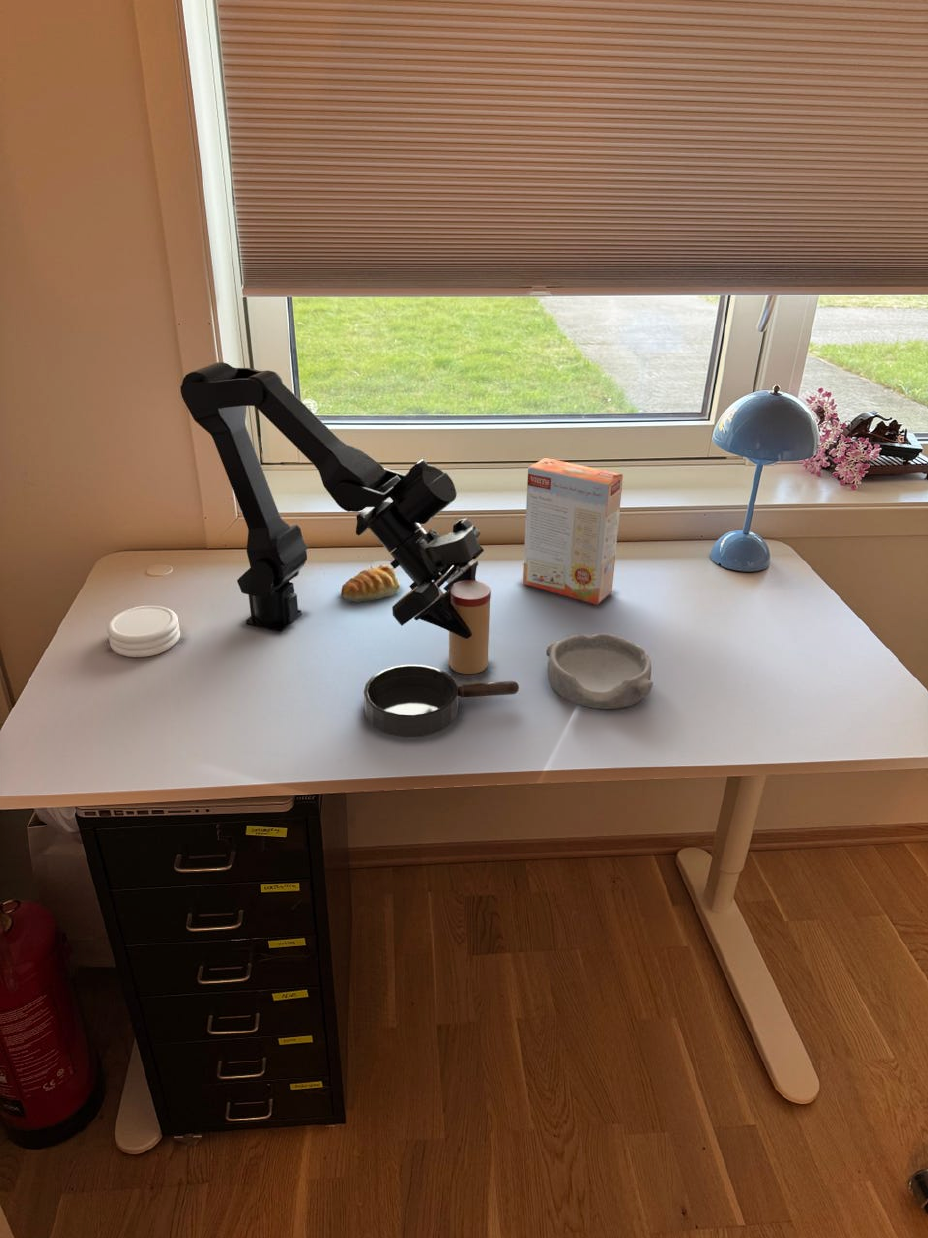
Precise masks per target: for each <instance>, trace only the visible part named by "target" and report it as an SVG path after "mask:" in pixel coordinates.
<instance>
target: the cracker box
mask: <svg viewBox="0 0 928 1238" xmlns="http://www.w3.org/2000/svg"><path fill="white" fill-rule="evenodd" d="M623 478H624V474H623V473H620V472H614V471H609V470H605V469H601V468H595V467H590V466H585V465H581V464H576V463H571V462H567V461H562V460H558V459H553V458H548V457H544V458H542V459H540V460H539V461H536V463H534V464H532V465H531V466H529V467H527V480H526V481H527V484H526V505H525V524H524V525H525V526H524V546H523V547H524V548H523V550H524V551H523V570H522V571H523V573H522V584H523V585H525V586H529V587H533V588H536V589H540V590H544V591H547V592H550V593H554V594H557V595H562V596H565V597H568V598H572V599H574V600H579V601H583V602H585V603H589V604H593V605H596V606H597V605H599V604H600V603H601V602H603V601H604V600H605V599H606V598H607V597H608V596H609V595H610V594H611V593H612V592H613V582H614V572H615V564H616V554H617V552H616V551H617V542H618V533H619V532H618V530H619V521H620V511H621V502H622V501H621V500H622V499H621V498H622V489H623Z"/></svg>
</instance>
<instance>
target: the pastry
mask: <svg viewBox="0 0 928 1238" xmlns="http://www.w3.org/2000/svg"><path fill="white" fill-rule="evenodd" d="M400 588H401V584H400V582H399V578H398V577H397V575H396V573H395V570H394V568H393V567H390V566H389V565H384V564H380V565H379V566H377V567H372V568H367V569H363V570H361V571H360V572H359V573H358V574H357V575H355V576H354V577H351V578H349V580H347V581H346V582H345V583H344V584H342V586H341V593H340V595H341V597H342V598H343V599H346V600H349V601H351V602H356V603H358V602H361V603H363V602H365V601H366V602H367V601H370V602H371V601H375V600H380V599H383V598H386V597H391V596H394V595H395V594H396V593H398V592H399V590H400Z"/></svg>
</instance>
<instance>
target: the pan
mask: <svg viewBox="0 0 928 1238" xmlns="http://www.w3.org/2000/svg"><path fill="white" fill-rule="evenodd" d="M363 704H364V706H363V707H364V713H365V717H366V720H367V721H368V722H369V723H370V725H371V726H372V727H374V729H376V730H378V731H380V732H381V733H385V734H386V735H387V734H388V735H391V736H395V737H402V738H419V737H425V736H430V735H433V734H436V733H438V732H441V731H442V730H444V729H446V728H447V727H449V726H450V725H451V724H452V723H453V722H454V720H455V719H456V717H457V715H458V711H459V696H458V684H457V682H456V680H455V679H454V678H453V677H452V676H451V675H450V674H449V673H448V672H446V671H444V670H442V669H440V668H437V667H434V666H429V665H425V664H401V665H395V666H391V667H388V668H385V669H382V670H380V671H379V672H377V673H375V674H374V675H372V676H371V677H370V679H368V681H367V682H366V683H365V686H364V689H363Z"/></svg>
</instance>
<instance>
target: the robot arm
mask: <svg viewBox="0 0 928 1238" xmlns="http://www.w3.org/2000/svg"><path fill="white" fill-rule="evenodd" d="M179 391H180V395H181V399H182V401H183V402H184V404H185V406H186V408H187V410H188V411H189V413H190V415H191V417H192V419H193V420H194V422H195V423H197V424H198V425H199V426H200V427H201V428H203V430H205V431H206V432H207V433H208V434H209V435H210V437H211V438H212V440H213V443H214V445H215V447H216V450H217V453H218V455H219V458H220V461H221V464H222V466H223V468H224V471H225V474H226V475H227V478H228V481H229V484H230V486H231V488H232V491H233V495H234V496H235V498H236V501H237V503H238V506H239V509H240V512H241V515H242V516H243V519H244V522H245V524H246V526H247V541H246V543H247V544H246V555H247V560H248V563H249V567H250V568H248V569H247V570H246V571H245V572H244V573H243V574H242V575H241V576H240V577H239V578H238V579H237V580H236V582H237V585H238V587H239V590H240V592H241V593H242V594H245V595H248V601H249V610H250V617H248V618H247V619H246V620H245V621H244V623H245V625H246V626H252V627H256V628H260V629H264V630H269V631H273V632H278V633H282V632H283V631H285V630H286V629H287V628H288V627H289V626H291V624H292V623H294V622H295V621H296V620H297V619H298V618H299V617H301V616H302V615H303V613H302V610H300V609H299V605H298V595H297V593H296V592H295V587H294V585H295V584H294V583H293V582H290V581H291V580H293V579H294V578H297V577H298V576H299V573H300V570H301V569H303V568H304V567H305V565H306V562H307V560H308V553H307V550H308V549H309V546H308V545H307V543H306V542H305V539H304V537H303V534H302V529H301V527H300V526H299V525H298V524H294V525H290V524H289V523H288V522H286V521H285V519H283V518H282V517H281V515H280V513H279V509H278V507H277V505H276V502H275V499H274V497H273V494H272V492H271V489H270V486H269V484H268V480H267V478H266V475H265V473H264V470H263V468H262V465H261V462H260V460H259V457H258V455H257V452H256V449H255V447H254V444H253V441H252V438H251V436H250V434H249V431H248V428H247V425H246V417H247V408H248V407H254V408H256V409H257V410H258V411H259V412H260V413H261V414H262V415H263V416H264V417H265V418H267V420H268V421H269V422H270V423H271V424H272V425H273V426H274V427H275V428H276V429H277V430H278V431H279V432H280V433H281V434H282V435H283V436H284V437H285V438H286V439H287V440H288V441H289V442H290V443H291V444H292V445H293V446H295V448H296V449H297V450H299V451H300V453H301V454H302V455H304V457H305V458H307V460H308V461H309V462H310V463H312V464H313V466H314V467H315V468H316V470H317V471H318V473H319V476H320V477H319V478H320V479H321V482H322V485H323V487H324V489H325V490H326V491H327V493H328V494H329V495H330V497H331V498H332V499H333V500H334V502H335V503H336V504H337V505H338V506H339V507H340V508H341V509H342V510H344V511H345V512H347V513H348V512H353V513H357V512H359V513H358V514H357V515H356V526H355V534H356V535H357V536H360V535H362V534H363V533H365V532H366V531H367V530H370V532H371V533H372V534H373V535H374V536H375V537H376V538H377V540H378V541H379V542H380V543H381V545H382V546H383V547H384V549H386V551H387V553H389V554H390V555H391V557H392V558H393V560H392V561H390V563H389V564H390V565H391V568H392V569H393V570H395V569H397V568H398V567H400V568H401V569H402V570H403V571H404V573H405V574H406V575H407V576H408V577H409V578H410V580H411V581H412V583H411V584H410V585H409V586H408V587H409V588H410V591H408V592H407V593H406V594H404V595H403V596H402V597H401V598H400V599H399V600H398V601H396V603H395V604H394V605H393V606H392V607H391V608H392V617H393V618H394V619H395V620H396V621H397V622H398V624H399V625H400V626H404V625H405V624H406V623H407V624H408V622H409V621H411V620H412V619H413V620H414V621H419V620H420V621H424V622H426V623H428V624H429V623H430V624H432V625H434V626H436V627H440V629H441V628H442V629H444V630H445V631H448V632H449V631H450V632H452V633H455V634H457V635H459V636H461V637H463V638H465V639H468V638H469V637H471V636H472V633H471V631H470V629H469V628H468V626H467V625H466V623H465V622H464V620H463V619H462V618H461V616H460V615H459V614H458V612H457V611H456V609H455V608H454V607H453V605H452V604H451V592H450V589H449V588H450V586H451V585H452V584H454V583H456V582H459V581H464V580H475V581H477V580H476V579H477V578H476V574H477V568H478V566H479V561H478V560H476V559H478V558H479V556H480V555H481V554H483V553H484V551H485V549H484V548H483V547H482V546H481V545H480V543H479V541H478V537H480V535H481V531H480V530H479V529H477V527H476V526H475V525H474V524H473V523H472V522H471V520H469V518H462V519H459V520H458V521H456V522H455V523H454V524H453V525H452V531H449V532H448V533H447V534H443V535H439V533H438V532H437V531H436V530H434V529H432V528H431V529H429V530H428V531H426V530H425V529H424V528H423V526H422V525H424V524H427V523H429V522H430V521H431V520H432V519H433V518H434V517H436V516H437V515H438V514H440V513H441V512H442V511H443V510H444V509H445V508H446V507H448V506H449V505H450V504H452V503H453V502H454V501H456V498H457V493H458V492H457V488H456V485H455V482H454V481H453V479H452V477H450V475H449V474H448V473H447V472H444V471H443V470H442V469H440V468H438V466H437V467H436V466H434V465H429V464H428V463H427V462H426V460H425V459H420V460H419V461H418V462H417V463H415V464H413V466H412V467H410V469H409V470H408V472H407V473H406V474H405V473H401V472H399V471H395V470H392V469H388V468H386V467H384V466H383V465H382V464H381V463H380V462H378V461H377V460H376V459H374V458H373V457H371V456H370V455H369V454H367V453H366V452H365V451H363V450H361V449H359V448H357V447H354V446H351V445H349V444H348V443H347V444H346V443H345V442H344V441H343V440H341V439H339V437H338V436H337V435H336V434H335V433H334V432H333V431H332V430H331V429H330V428H328V426H327V425H326V424H324V423H323V421H321V419H320V418H318V417H317V415H316V414H315V413H314V412H313V411H311V410H310V408H308V407H307V405H306V404H305V403H304V402H302V400H300V399H299V397H297V396H296V394H295V393H294V392H292V391H291V390H290V388H288V386H287V385H286V384H285V383H284V382H283V379H282V377H281V376H280V375H279V374H278V373H277V372H275V371H272V370H258V369H254V368H251V367H233V366H232V365H230V364H229V363H226V362H223V361H218V362H215V363H212V364H209V365H207V366H204V367H202V368H199V369H196V370H193V371H191V372H188V373H187V374H186V375H184V377H183V379H182V382H181V385H180V386H179ZM389 498H390V499H391V501H387V500H388V499H389ZM367 508H372V509H371V510H366V509H367ZM472 560H476V561H474V562H473V563H472V564H470V562H471V561H472ZM445 583H447V584H446V585H445V586H444V587H443V590H444V591H445V592H443V590H441V587H442V586H443V585H444V584H445Z"/></svg>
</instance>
